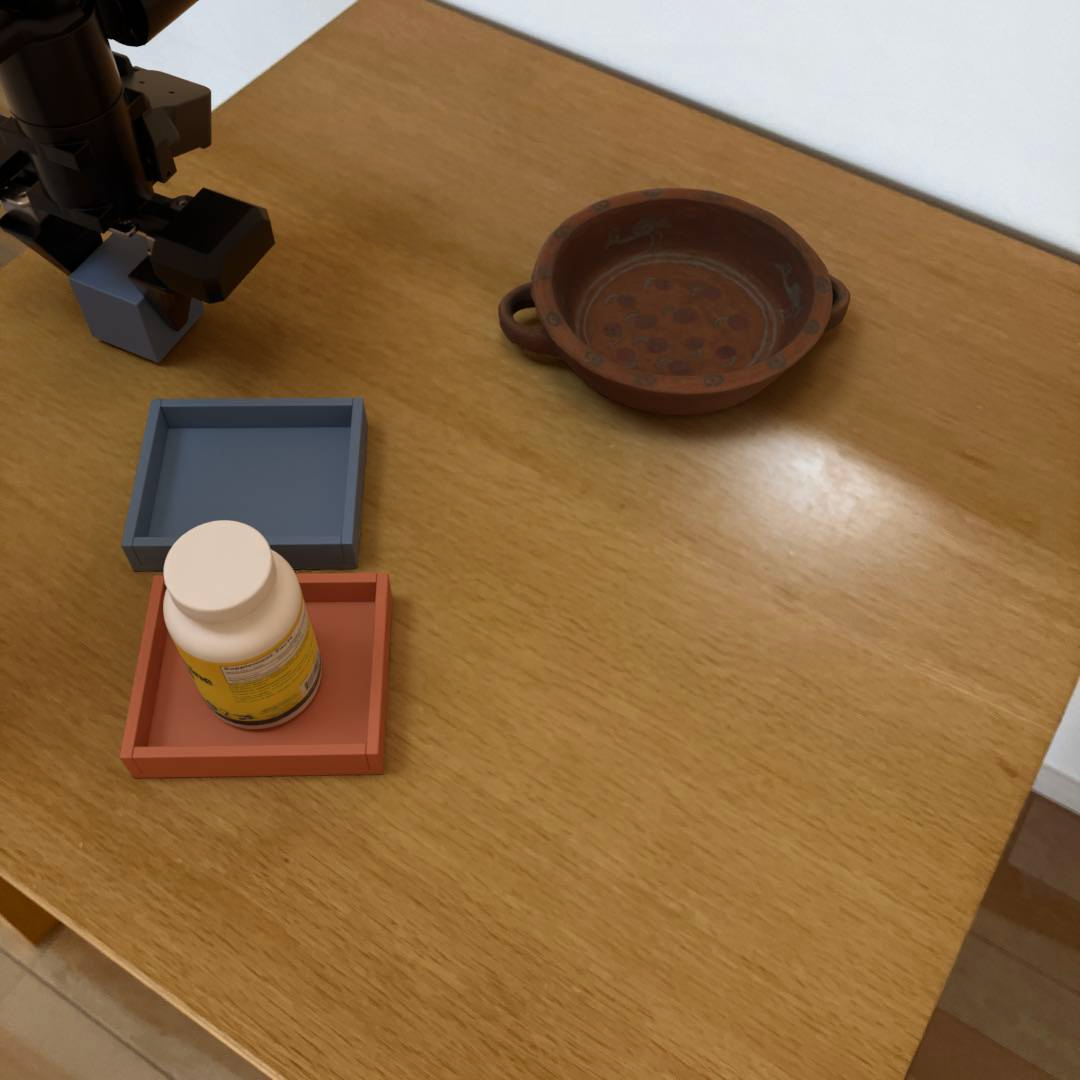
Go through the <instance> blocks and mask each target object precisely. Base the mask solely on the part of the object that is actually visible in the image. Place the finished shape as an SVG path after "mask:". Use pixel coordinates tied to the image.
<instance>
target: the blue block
mask: <svg viewBox="0 0 1080 1080" xmlns="http://www.w3.org/2000/svg"><path fill="white" fill-rule="evenodd" d="M150 247H151V246H149V245H148V243H147V240H146V237H145V235H143V234H140V233H138V232H137V233H136V234H135V235H134V236H132V237H131V238H125V237H123V236H120V235H117V234H115V233H112V232H111V234H110V235H109V236H108V237H107V238H106V239H105V240H103V243H102V244H101V245H100V246H99V247H98V248H97V249H96V250H95V251H94V252H93V253H92V254H91V255H90V256H89V257H88V258H87V259H86V260H85V261H84V262H83V263H82V264H81V265H80V266H79V267H78V268H77V269H76V270H75V271H74V272H73V273H72V274H71V275H70V276H67V280H68V282H69V285H70V287H71V289H72V292H73V294H74V296H75V300H76V301H77V303H78V306H79V308H80V310H81V313H82V315H83V317H84V320H85V322H86V324H87V326H88V329H89V332H90V334H91V336H92V337H93V338H95V339H97V340H100V341H102V342H105V343H108V344H110V345H112V346H115V347H117V348H120V349H122V350H125V351H127V352H130V353H132V354H134V355H137V356H140V357H142V358H145V359H147V360H149V361H151V362H154V363H157V364H159V363H160V362H161V361H162V360H163V359H164V358H165V357H166V355H168V354H169V352H170V351H171V350H172V349H173V348H174V347H175V345H176V344H177V343H178V342H179V341H180V340H181V339H182V338H183V336H185V334H186V333H187V332H188V331H189V330H190V329H191V328H192V327H193V325H194V324H195V323H196V322H197V321H198V320H199V319H200V317H201V316H202V315H203V314H204V313H205V312H206V309H205V306H204V304H203V303H204V302H202V301H200V300H197V299H194V298H191V304H190V310H189V316H188V321H187V323H186V324H185V325H184V326H183V328H182V329H181V330H180V331H179V332H176V331H174V330H172V329H171V328H170V327H169V326H168V325H167V324H166V323H165V322H164V321H163V320H162V318H161V317H160V316H159V315H158V314H157V312H156V311H155V310H154V309H153V307H152V306H151V305H150V304H149V303H148V301H147V300H146V299H145V298H144V296H143V295H142V294H141V293H140V292H139V290H138V289H137V288H136V287H135V286H134V284H133V283H132V282H131V281H130V279H129V278H128V275H129V274H130V273H131V272H132V270H133V269H134V268H135V267H136V266H137V265H138V264H139V263H140V262H141V261H142V260H143V259H144V258H145V257H146V256H147V255H148V253H147V249H148V248H150Z"/></svg>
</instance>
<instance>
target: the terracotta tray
mask: <svg viewBox="0 0 1080 1080" xmlns="http://www.w3.org/2000/svg"><path fill="white" fill-rule="evenodd" d="M295 574H296V576H297V579H298V582H299V585H300V588H301V591H302V594H303V598H304V601H305V605H306V608H307V612H308V615H309V619H310V622H311V625H312V628H313V632H314V635H315V638H316V642H317V645H318V648H319V652H320V657H321V662H322V675H321V680H320V684H319V687H318V689H317V692H316V694H315V696H314V697H313V699H312V701H311V702H310V703H309V704H308V706H307V707H306V708H305V709H304V710H303V711H302V712H300V713H299V714H298V715H296V716H295V717H294V718H292V719H290V720H289V721H287V722H285V723H282V724H280V725H277V726H274V727H270V728H264V729H244V728H239V727H236V726H233V725H230V724H228V723H226V722H224V721H223V720H221V719H219V718H218V717H217V716H216V715H215V714H214V713H213V712H212V711H211V710H210V709H209V707H208V706H207V705H206V703H205V701H204V699H203V698H202V696H201V694H200V692H199V690H198V688H197V686H196V684H195V682H194V680H193V678H192V676H191V674H190V673H189V671H188V669H187V667H186V665H185V663H184V661H183V659H182V657H181V655H180V653H179V651H178V649H177V647H176V645H175V643H174V642H173V640H172V638H171V636H170V634H169V632H168V629H167V627H166V623H165V620H164V613H163V603H164V597H165V592H166V589H167V587H166V585H165V581H164V574H153V576H152V582H151V587H150V592H149V597H148V602H147V607H146V613H145V618H144V624H143V629H142V635H141V639H140V645H139V651H138V655H137V656H138V657H137V662H136V667H135V671H134V677H133V683H132V689H131V694H130V699H129V704H128V710H127V715H126V721H125V725H124V731H123V736H122V742H121V747H120V753H119V759H120V761H121V762H122V764H123V765H124V767H125V768H126V769H127V771H128V772H129V774H130V775H131V777H132V778H133V779H149V778H150V779H153V778H155V779H156V778H157V779H158V778H217V777H219V778H220V777H270V776H271V777H277V776H279V777H281V776H338V775H342V776H343V775H344V776H345V775H383V774H384V765H385V764H384V762H385V744H386V743H385V742H386V726H387V725H386V723H387V706H388V704H387V703H388V685H389V669H390V651H391V650H390V648H391V631H392V629H391V628H392V612H393V611H392V610H393V593H392V587H391V581H390V576H389V573H388V572H323V573H322V572H320V573H319V572H318V573H317V572H315V573H313V572H312V573H311V572H310V573H308V572H307V573H305V572H303V573H295Z"/></svg>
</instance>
